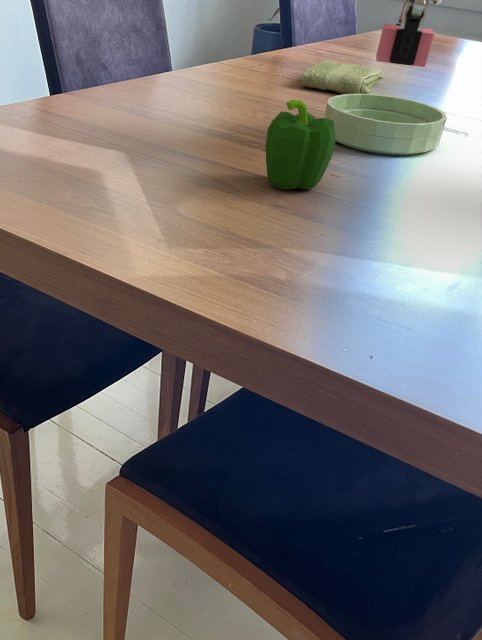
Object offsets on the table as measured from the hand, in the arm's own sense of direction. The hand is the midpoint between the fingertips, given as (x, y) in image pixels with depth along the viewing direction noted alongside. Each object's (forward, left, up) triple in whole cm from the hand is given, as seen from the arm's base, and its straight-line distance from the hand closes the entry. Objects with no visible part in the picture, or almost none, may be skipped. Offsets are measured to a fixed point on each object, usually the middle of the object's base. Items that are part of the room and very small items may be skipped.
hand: (400, 59), depth 100 cm
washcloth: (+7, -40, -12) cm, 42 cm away
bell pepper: (+11, +23, -12) cm, 28 cm away
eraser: (0, 0, 0) cm, 0 cm away
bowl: (0, -4, -12) cm, 12 cm away
